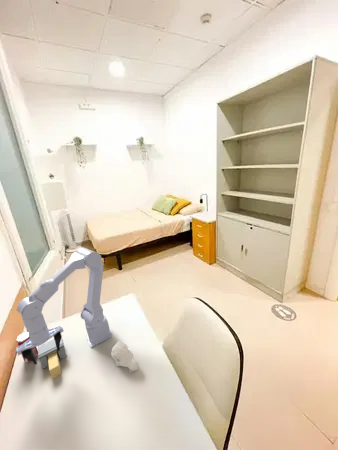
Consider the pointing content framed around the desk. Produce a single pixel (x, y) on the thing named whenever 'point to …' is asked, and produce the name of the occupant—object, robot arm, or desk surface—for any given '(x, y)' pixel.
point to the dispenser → (50, 352)
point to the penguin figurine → (124, 356)
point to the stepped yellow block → (54, 364)
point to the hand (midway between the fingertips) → (47, 355)
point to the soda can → (22, 339)
